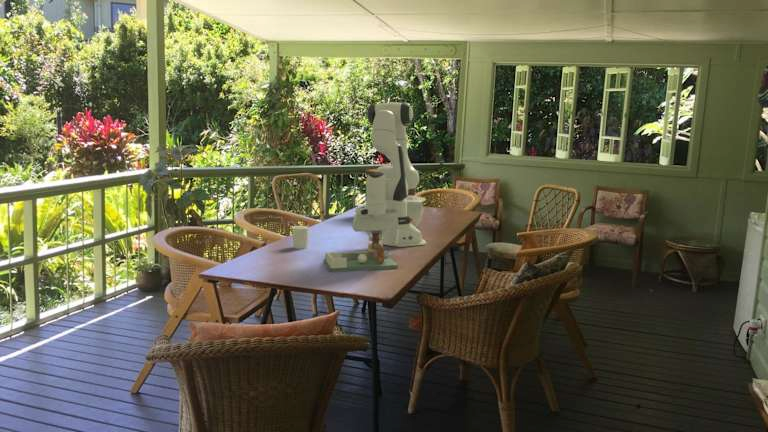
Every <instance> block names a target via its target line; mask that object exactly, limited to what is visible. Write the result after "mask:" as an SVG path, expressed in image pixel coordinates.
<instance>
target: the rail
mask: <svg viewBox="0 0 768 432" xmlns="http://www.w3.org/2000/svg"><path fill="white" fill-rule="evenodd" d="M341 252H342V251H341ZM327 253H328V252H326V253H324V254H325V255H324V257H325V258H324V259H325V260H326V261H327ZM360 254H364V255H366V256H367V259H373V258H377V252H369V251H368V250H367V251H365V250H364V251H347V252H345V251H344V252H342V258H347V260H351V259H358V256H359V255H360ZM388 257H389V250H384V258H388Z"/></svg>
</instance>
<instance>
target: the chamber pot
mask: <svg viewBox="0 0 768 432" xmlns="http://www.w3.org/2000/svg"><path fill="white" fill-rule="evenodd" d="M406 200H407V216H409V217H412V218H413V219H414V220H413V221H412V222H410V223H411V224H412V225H413V226H415V227H416V228H417V227H418V225H419V224H420V221H421V220H422V219H423V214H424V205H423V204H422V203H423V202H426V200H427V199H426V198H425V197H423V196H419V195H416V194H415V195H407V197H406Z"/></svg>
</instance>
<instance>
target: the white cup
mask: <svg viewBox="0 0 768 432" xmlns="http://www.w3.org/2000/svg"><path fill="white" fill-rule="evenodd" d="M291 231H292V242H293V248H294V249H297V250H298V249H299V250H300V249H301V250H302V249H308V248H309V247H308V245H309V243H308V242H309V231H310V230H309V225H294V226H292V228H291Z"/></svg>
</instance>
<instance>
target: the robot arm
mask: <svg viewBox="0 0 768 432" xmlns="http://www.w3.org/2000/svg"><path fill="white" fill-rule="evenodd" d="M366 117H367V122H368V123H369V124H370V125H371V126H372V128H371V138H370V139H371V144H372V147H373V148H374V149H375V150H376V151H377V152H378V153H380V154H382V155H384V156H386V158H387V159H388V160H389V161H390V163H391V164H392V165H382V166H379V167H378V168H376V169H377V170H376V172H373V173H370V174H368V175H367V176H366V177H367V178H366V184H365V196H366V200H365V204H364V205H363V206H362V205H361V206H359V207H357V208H355V210H354V212H355V214H354V216H353V219H352V229H353V231H354V232H366V234H367V236H368V241H369V242H372V241H373V237H372V235H370V234H371V232H378V231H380V233H381V234H379V242H380V241H381V242H380V243H382V244H383V246H384V245H386V246H391V247H398V248H404V247H412V246H425V245H427V242H426V240H425V239H423V238H422V237H423V236H422V233H421V231H420V229H419V228H417V226H416V227H415V226H413V225H412V224H411V223H410V222H412V221H413V220H414V219H413V218H412V217H409V216H407V200H406V197H407V195H408V189H413V188H415V189H416V187H418V185H419V183H420V174H418V172H417V171H416V170H417V169H415V168H414V166H413V164H412V162H411V161H410V158H409V155H408V145H407V143H408V142H407V141H408V140H407V131H406V127H407V125H409V124H410V123H412V120H413V118H414V110H413V106H412V105H411V104H410V103H408V102H404V101H403V102H394V101H391V102H383V103H372V104H370V105H369V107H367V111H366Z"/></svg>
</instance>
